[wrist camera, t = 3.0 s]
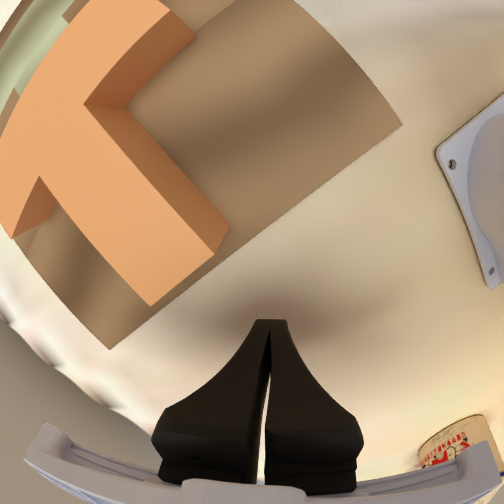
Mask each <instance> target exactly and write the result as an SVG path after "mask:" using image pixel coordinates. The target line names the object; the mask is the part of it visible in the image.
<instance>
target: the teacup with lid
mask: <svg viewBox="0 0 504 504" xmlns="http://www.w3.org/2000/svg"><path fill="white" fill-rule="evenodd" d="M484 440H488V442H489V445H490V448H491V450H492V453H493V456H494V458H495V461H496V464H497V467H498V470H499V473H500V476H501V479H502V484H501V485H499V486H498V487H497V488H495V489H494V490H493V491H491V492H490V493H488V494H487V495H485V496H484V497H482V498H481V499H480V500H478V501H476V502H475V503H473V504H487V503H488V502H489V501H490V500H491V499H492V498H493V496H494V495H495V493H496V492H497V491H498V489H499V488H500V487H501V486H502V485H503V484H504V464H503V461H502V458H501V456H500V453H499V450H498V448H497V445H496V443H495V440H494V438H493V435H492V433H491V431H490V428H489V426H488V424H487V421H486V419H485V418H484V417H483V416H472V417H469V418H466V419H463V420H461V421H459V422H457V423H455V424H453V425H451V426H449V427H447V428H446V429H444V430H443V431H441V432H439V433H438V434H436V435H435V436H434V437H432V438H431V439H430V440H429V441H428V442H426V443H425V444H424V446H423V447H422V448H421V449H420V451H419V460H420V464H421V468H422V469H423V468H426V467H430V466H433V465H436V464H439V463H442V462H446V461H448V460H451V459H454V458H456V457H457V455H458V454H459V453H460V452H461V451H462V450H464V449H466V448H467V447H469V446H472V445H474V444H477V443H479V442H482V441H484Z"/></svg>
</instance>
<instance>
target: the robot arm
mask: <svg viewBox="0 0 504 504" xmlns="http://www.w3.org/2000/svg"><path fill="white" fill-rule="evenodd" d="M436 158H437V160H438V162H439V164H440V166H441V168H442V170H443V172H444V174H445V176H446V178H447V180H448V182H449V184H450V186H451V189H452V191H453V193H454V195H455V197H456V200H457V202H458V204H459V207H460V209H461V211H462V214H463V216H464V219H465V221H466V224H467V227H468V229H469V232H470V235H471V237H472V240H473V243H474V246H475V249H476V252H477V255H478V258H479V261H480V265H481V268H482V271H483V275H484V279H485V282H486V285H487V287H488V288H489V289H491V290H492V289H494V288H496V287H497V286H498V285H499V284H500V283H501V282H502V283H503V284H504V93H503V94H502V95H501V96H499V97H498V98H497V99H496V100H495V101H494V102H492V103H491V104H490V105H489V106H488V107H486V108H485V109H484V110H483V111H482V112H480V113H479V114H478V115H477V116H475V117H474V118H473V119H472V120H471V121H469V122H468V123H467V124H466V125H464V126H463V127H462V128H461V129H459V130H458V131H457V132H456V133H455V134H453V135H452V136H451V137H450V138H448V139H447V140H446V141H445V142H443V143H442V144H441V145H440V146H439V147H438V148H437V150H436ZM450 160H452V167H451V168H450V169H449V166H448V162H449V161H450ZM490 268H491V269H490ZM489 270H490V271H489ZM269 376H270V377H271V381H270V391H269V400H268V408H267V415H266V423H265V456H266V457H265V467H264V474H265V485H256V483H257V471H258V459H259V447H260V435H261V423H262V414H263V408H264V403H265V398H266V392H267V387H268V381H269ZM151 441H152V444H153V446H154V447H155V449H156V450H157V452H158V453H159V454H160V456H161V457H162V458H163V460H162V463H161V466H160V469H159V471H158V470H154V469H150V468H146V467H143V466H139V465H136V464H132V463H129V462H126V461H123V460H120V459H117V458H114V457H111V456H108V455H106V454H103V453H100V452H98V451H95V450H92V449H90V448H87V447H85V446H83V445H80V444H78V443H76V442H73V440H72V439H71V438H70V437H69V435H68V434H67V433H65V432H64V431H62V430H61V429H59V428H56V427H54V426H52V425H50V424H48V423H45V424H44V425H43V427H42V428H41V430H40V432H39V433H38V435H37V436H36V438H35V440H34V441H33V443H32V445H31V446H30V448H29V450H28V451H27V453H26V455H25V456H24V460H25V461H26V462H27V463H28V464H29V465H30V466H32V467H33V468H34V469H35V470H36V471H38V472H39V473H40V474H41V475H42V476H44V477H45V478H46V479H48V480H49V481H50V482H52V483H53V484H54V485H56V486H58V487H60V488H61V489H63V490H65V491H67V492H69V493H70V494H72V495H74V496H76V497H78V498H80V499H82V500H84V501H85V502H87V503H89V504H473V503H475V502H476V501H478V500H480V499H481V498H482V497H484V496H485V495H487V494H488V493H490V492H491V491H493V490H494V489H495V488H497V487H498V486H499V485H501V484H502V479H501V476H500V473H499V470H498V467H497V464H496V461H495V458H494V456H493V453H492V450H491V448H490V445H489V442H488V440H484V441H482V442H479V443H477V444H474V445H472V446H469V447H467V448H466V449H464V450H462V451H461V452H460V453H459V454H458V455H457V457H456V458H454V459H451V460H448V461H446V462H442V463H439V464H436V465H433V466H430V467H426V468H423V469H419V470H415V471H411V472H407V473H403V474H398V475H394V476H389V477H384V478H379V479H373V480H367V481H360V482H356V473H355V470H356V469H357V462H356V458H357V457H358V455H359V453H360V452H361V450H362V448H363V445H364V440H363V435H362V432H361V429H360V427H359V424H358V422H357V420H356V418H355V417H354V416H353V415H352V414H350V413H349V412H348V411H347V410H345V409H344V408H343V407H342V406H340V405H339V404H338V403H337V402H336V401H335V400H334V399H333V398H332V397H331V396H330V395H329V394H328V393H327V392H326V391H325V390H324V389H323V388H322V387H321V385H320V384H319V383H318V382H317V380H316V379H315V378H314V377H313V375H312V374H311V372H310V371H309V370H308V368H307V367H306V365H305V363H304V362H303V360H302V358H301V357H300V355H299V353H298V351H297V349H296V347H295V345H294V343H293V340H292V338H291V335H290V332H289V329H288V325H287V321H286V320H278V319H257V320H256V321H255V322H254V325H253V327H252V329H251V331H250V332H249V334H248V336H247V337H246V339H245V340H244V342H243V343H242V345H241V346H240V348H239V349H238V351H237V352H236V353H235V354H234V356H233V357H232V358H231V359H230V361H229V362H228V363H227V364H226V365H225V366H224V367H223V368H222V369H221V370H220V371H219V372H218V373H217V374H216V375H215V376H214V377H213V378H212V379H211V380H209V381H208V382H207V383H206V384H205V385H203V386H202V387H201V388H199V389H198V390H196V391H195V392H194V393H192V394H191V395H189V396H188V397H186V398H185V399H183V400H181V401H179V402H177V403H175V404H174V405H172V406H170V407H168V408H166V409H165V410H164V412H163V413H162V415H161V417H160V418H159V420H158V422H157V424H156V427H155V429H154V432H153V435H152V438H151Z"/></svg>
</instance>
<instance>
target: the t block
mask: <svg viewBox="0 0 504 504" xmlns="http://www.w3.org/2000/svg"><path fill="white" fill-rule="evenodd" d="M195 37H197V36H196V35H195V34H194V33H193V32H192V31H191V30H190V29H189V28H188V27H187V26H186V25H185V24H184V23H183V22H182V21H181V20H180V19H179V18H178V17H177V16H176V15H175V14H174V13H173V12H172V11H171V10H170V9H169V8H167V7H166V6H165V5H163V4H162V3H161V2H160V1H158V0H90V1H89V2H88V3H87V4H86V5H85V6H84V7H83V8H82V9H81V11H80V12H79V13H78V14H77V15H76V16H75V18H74V19H73V20H72V21H71V22H70V23H69V25H68V26H67V27H66V28H65V30H64V31H63V32H62V34H61V35H60V36H59V37H58V39H57V40H56V41H55V43H54V44H53V46H52V47H51V48H50V50H49V51H48V53H47V54H46V56H45V57H44V58H43V60H42V61H41V63H40V65H39V66H38V68H37V69H36V71H35V72H34V74H33V76H32V77H31V79H30V81H29V82H28V84H27V86H26V87H25V89H24V91H23V93H22V95H21V96H20V98H19V100H18V102H17V104H16V106H15V108H14V110H13V112H12V114H11V116H10V118H9V120H8V122H7V124H6V127H5V129H4V131H3V133H2V136H1V138H0V223H1V225H2V227H3V228H4V230H5V231H6V233H7V234H8V236H9V237H10V239H13V238H15V237H16V236H18V235H20V234H22V233H24V232H25V231H27V230H29V229H31V228H33V227H35V226H37V225H39V224H40V223H42V222H44V221H46V220H48V218H49V216H50V214H51V213H52V211H53V209H54V207H55V206H56V204H57V202H59V203H60V205H61V206H62V207H63V209H64V210H65V211H66V213H67V214H68V215H69V216H70V218H71V219H72V220H73V221H74V223H75V224H76V225H77V226H78V228H79V229H80V230H81V231H82V233H83V234H84V235H85V236H86V237H87V239H88V240H89V241H90V242H91V243H92V244H93V246H94V247H95V248H96V249H97V250H98V251H99V253H100V254H101V255H102V256H103V257H104V258H105V259H106V261H107V262H108V263H109V264H110V265H111V266H112V267H113V268H114V269H115V270H116V272H117V273H118V274H119V275H120V276H121V277H122V278H123V279H124V280H125V281H126V282H127V283H128V284H129V285H130V286H131V288H132V289H133V290H134V291H135V292H136V293H137V294H138V295H139V296H140V297H141V298H142V299H143V300H144V301H145V302H146V303H147V304H148V305H149V306H150V307H151V306H152V305H153V304H154V303H155V302H157V301H158V300H159V299H160V298H161V297H163V296H164V295H165V294H166V293H168V292H169V291H170V290H171V289H172V288H174V287H175V286H176V285H177V284H179V283H180V282H181V281H182V280H183V279H185V278H186V277H187V276H188V275H190V274H191V273H192V272H193V271H194V270H196V269H197V268H198V267H199V266H201V265H202V264H203V263H204V262H206V261H207V260H208V259H209V258H211V257H212V256H213V255H214V254H215V253H216V251H217V249H218V247H219V245H220V244H221V242H222V240H223V238H224V236H225V234H226V233H227V231H228V229H229V227H230V224H229V223H228V222H227V221H226V219H225V218H224V217H223V216H222V215H221V214H220V213H219V212H218V210H217V209H216V208H215V207H214V206H213V205H212V204H211V203H210V201H209V200H208V199H207V198H206V197H205V196H204V195H203V194H202V193H201V191H200V190H199V189H198V188H197V187H196V186H195V185H194V184H193V182H192V181H191V180H190V179H189V178H188V177H187V176H186V175H185V173H184V172H183V171H182V170H181V169H180V168H179V167H178V166H177V165H176V163H175V162H174V161H173V160H172V159H171V158H170V157H169V156H168V154H167V153H166V152H165V151H164V150H163V149H162V148H161V147H160V146H159V144H158V143H157V142H156V141H155V140H154V139H153V138H152V137H151V135H150V134H149V133H148V132H147V131H146V130H145V129H144V128H143V127H142V125H141V124H140V123H139V122H138V121H137V120H136V119H135V118H134V117H133V115H132V114H131V113H130V112H129V111H128V110H127V109H126V108H125V106H126V105H127V104H128V103H129V102H130V101H131V100H132V98H133V97H134V96H135V95H136V94H137V93H138V92H139V91H140V90H141V89H142V88H143V87H144V85H145V84H146V83H147V82H148V81H149V80H150V79H151V78H152V77H153V76H154V75H155V74H156V73H157V72H158V71H159V70H160V69H161V68H162V67H163V66H164V65H165V64H166V63H167V62H168V61H170V60H171V59H172V58H173V57H174V56H175V55H176V54H177V53H178V52H179V51H180V50H182V49H183V48H184V47H185V46H186V45H187V44H188V43H190V42H191V41H192V40H193V39H194V38H195Z"/></svg>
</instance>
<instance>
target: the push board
mask: <svg viewBox="0 0 504 504" xmlns="http://www.w3.org/2000/svg"><path fill="white" fill-rule="evenodd" d="M89 1H90V0H22V1H21V2H20V4H19V5H18V6H17V8H16V9H15V11H14V12H13V14H12V15H11V17H10V18H9V20H8V21H7V23H6V24H5V26H4V27H3V29H2V31H1V32H0V138H1V136H2V133H3V131H4V129H5V127H6V124H7V122H8V120H9V118H10V116H11V114H12V112H13V110H14V108H15V106H16V104H17V102H18V100H19V98H20V96H21V95H22V93H23V91H24V89H25V87H26V86H27V84H28V82H29V81H30V79H31V77H32V76H33V74H34V72H35V71H36V69H37V68H38V66H39V65H40V63H41V61H42V60H43V58H44V57H45V56H46V54H47V53H48V51H49V50H50V48H51V47H52V46H53V44H54V43H55V41H56V40H57V39H58V37H59V36H60V35H61V34H62V32H63V31H64V30H65V28H66V27H67V26H68V25H69V23H70V22H71V21H72V20H73V19H74V18H75V16H76V15H77V14H78V13H79V12H80V11H81V9H82V8H83V7H84V6H85V5H86V4H87V3H88V2H89ZM158 1H160V2H161V3H162V4H163V5H165V6H166V7H167V8H169V9H170V10H171V11H172V12H173V13H174V14H175V15H176V16H177V17H178V18H179V19H180V20H181V21H182V22H183V23H184V24H185V25H186V26H187V27H188V28H189V29H190V30H191V31H192V32H193V33H194V34H195V35H196V36H197V37H195V38H194V39H193V40H192V41H191V42H190V43H188V44H187V45H186V46H185V47H184V48H183V49H182V50H180V51H179V52H178V53H177V54H176V55H175V56H174V57H173V58H172V59H171V60H170V61H168V62H167V63H166V64H165V65H164V66H163V67H162V68H161V69H160V70H159V71H158V72H157V73H156V74H155V75H154V76H153V77H152V78H151V79H150V80H149V81H148V82H147V83H146V84H145V85H144V87H143V88H142V89H141V90H140V91H139V92H138V93H137V94H136V95H135V96H134V97H133V98H132V100H131V101H130V102H129V103H128V104H127V105H126V106H125V108H126V109H127V110H128V111H129V112H130V113H131V114H132V115H133V117H134V118H135V119H136V120H137V121H138V122H139V123H140V124H141V125H142V127H143V128H144V129H145V130H146V131H147V132H148V133H149V134H150V135H151V137H152V138H153V139H154V140H155V141H156V142H157V143H158V144H159V146H160V147H161V148H162V149H163V150H164V151H165V152H166V153H167V154H168V156H169V157H170V158H171V159H172V160H173V161H174V162H175V163H176V165H177V166H178V167H179V168H180V169H181V170H182V171H183V172H184V173H185V175H186V176H187V177H188V178H189V179H190V180H191V181H192V182H193V184H194V185H195V186H196V187H197V188H198V189H199V190H200V191H201V193H202V194H203V195H204V196H205V197H206V198H207V199H208V200H209V201H210V203H211V204H212V205H213V206H214V207H215V208H216V209H217V210H218V212H219V213H220V214H221V215H222V216H223V217H224V218H225V219H226V221H227V222H228V223H229V224H230V227H229V229H228V231H227V233H226V234H225V236H224V238H223V240H222V242H221V244H220V245H219V247H218V249H217V251H216V253H215V254H214V255H213V256H212V257H211V258H209V259H208V260H207V261H206V262H204V263H203V264H202V265H201V266H199V267H198V268H197V269H196V270H194V271H193V272H192V273H191V274H190V275H188V276H187V277H186V278H185V279H183V280H182V281H181V282H180V283H179V284H177V285H176V286H175V287H174V288H172V289H171V290H170V291H169V292H168V293H166V294H165V295H164V296H163V297H161V298H160V299H159V300H158V301H157V302H155V303H154V304H153V305H152V306H151V307H150V306H149V305H148V304H147V303H146V302H145V301H144V300H143V299H142V298H141V297H140V296H139V295H138V294H137V293H136V292H135V291H134V290H133V289H132V288H131V286H130V285H129V284H128V283H127V282H126V281H125V280H124V279H123V278H122V277H121V276H120V275H119V274H118V273H117V272H116V270H115V269H114V268H113V267H112V266H111V265H110V264H109V263H108V262H107V261H106V259H105V258H104V257H103V256H102V255H101V254H100V253H99V251H98V250H97V249H96V248H95V247H94V246H93V244H92V243H91V242H90V241H89V240H88V239H87V237H86V236H85V235H84V234H83V233H82V231H81V230H80V229H79V228H78V226H77V225H76V224H75V223H74V221H73V220H72V219H71V218H70V216H69V215H68V214H67V213H66V211H65V210H64V209H63V207H62V206H61V205H60V203H59V202H57V204H56V206H55V207H54V209H53V211H52V213H51V214H50V216H49V218H48V220H46V221H44V222H42V223H40V224H39V225H37V226H35V227H33V228H31V229H29V230H27V231H25V232H24V233H22V234H20V235H18V236H16V237H15V238H13V239H14V241H15V242H16V244H17V245H18V246H19V248H20V249H21V251H22V252H23V253H24V255H25V256H26V258H27V259H28V260H29V262H30V263H31V264H32V266H33V267H34V268H35V270H36V271H37V272H38V273H39V275H40V276H41V277H42V278H43V280H44V281H45V282H46V283H47V285H48V286H49V287H50V288H51V289H52V291H53V292H54V293H55V294H56V295H57V296H58V298H59V299H60V300H61V301H62V302H63V303H64V304H65V306H66V307H67V308H68V309H69V310H70V311H71V312H72V313H73V314H74V315H75V316H76V318H77V319H78V320H79V321H80V322H81V323H82V324H83V325H84V326H85V327H86V328H87V329H88V330H89V331H90V332H91V333H92V334H93V335H94V336H95V337H96V338H97V339H98V340H99V341H100V342H101V343H102V344H103V345H104V346H106V347H107V348H108V349H109V350H111V349H112V348H113V347H114V346H116V345H117V344H118V343H119V342H121V341H122V340H123V339H124V338H126V337H127V336H128V335H129V334H131V333H132V332H133V331H134V330H136V329H137V328H138V327H139V326H141V325H142V324H143V323H145V322H146V321H147V320H148V319H150V318H151V317H152V316H153V315H155V314H156V313H157V312H158V311H160V310H161V309H162V308H163V307H165V306H166V305H167V304H169V303H170V302H171V301H172V300H174V299H175V298H176V297H177V296H179V295H180V294H181V293H183V292H184V291H185V290H186V289H188V288H189V287H190V286H192V285H193V284H194V283H195V282H197V281H198V280H199V279H201V278H202V277H203V276H204V275H206V274H207V273H208V272H209V271H211V270H212V269H213V268H215V267H216V266H217V265H218V264H220V263H221V262H222V261H224V260H225V259H226V258H228V257H229V256H230V255H231V254H233V253H234V252H235V251H237V250H238V249H239V248H240V247H242V246H243V245H244V244H246V243H247V242H248V241H250V240H251V239H252V238H253V237H255V236H256V235H257V234H259V233H260V232H261V231H263V230H264V229H265V228H266V227H268V226H269V225H270V224H272V223H273V222H274V221H276V220H277V219H278V218H279V217H281V216H282V215H283V214H285V213H286V212H287V211H289V210H290V209H291V208H293V207H294V206H295V205H297V204H298V203H299V202H300V201H302V200H303V199H304V198H306V197H307V196H308V195H310V194H311V193H312V192H314V191H315V190H316V189H318V188H319V187H320V186H322V185H323V184H324V183H326V182H327V181H328V180H330V179H331V178H332V177H333V176H335V175H336V174H337V173H339V172H340V171H341V170H343V169H344V168H345V167H347V166H348V165H349V164H351V163H352V162H353V161H355V160H356V159H357V158H359V157H360V156H361V155H363V154H364V153H365V152H367V151H368V150H369V149H371V148H372V147H374V146H375V145H376V144H378V143H379V142H380V141H382V140H383V139H384V138H386V137H387V136H388V135H390V134H391V133H392V132H394V131H395V130H396V129H398V128H399V127H400V126H402V125H403V124H402V122H401V121H400V119H399V118H398V117H397V115H396V114H395V112H394V111H393V109H392V108H391V106H390V105H389V104H388V102H387V101H386V99H385V98H384V97H383V95H382V94H381V93H380V91H379V90H378V89H377V87H376V86H375V85H374V84H373V82H372V81H371V80H370V79H369V77H368V76H367V75H366V74H365V72H364V71H363V70H362V69H361V68H360V66H359V65H358V64H357V63H356V62H355V61H354V59H353V58H352V57H351V56H350V55H349V54H348V53H347V52H346V50H345V49H344V48H343V47H342V46H341V45H340V44H339V43H338V42H337V41H336V40H335V39H334V38H333V37H332V36H331V35H330V34H329V33H328V32H327V31H326V30H325V29H324V28H323V27H322V26H321V25H320V24H319V23H318V22H317V21H316V20H315V19H314V18H313V17H312V16H311V15H310V14H309V13H308V12H306V11H305V10H304V9H303V8H302V7H301V6H300V5H299V4H297V3H296V2H295V1H294V0H158Z"/></svg>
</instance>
